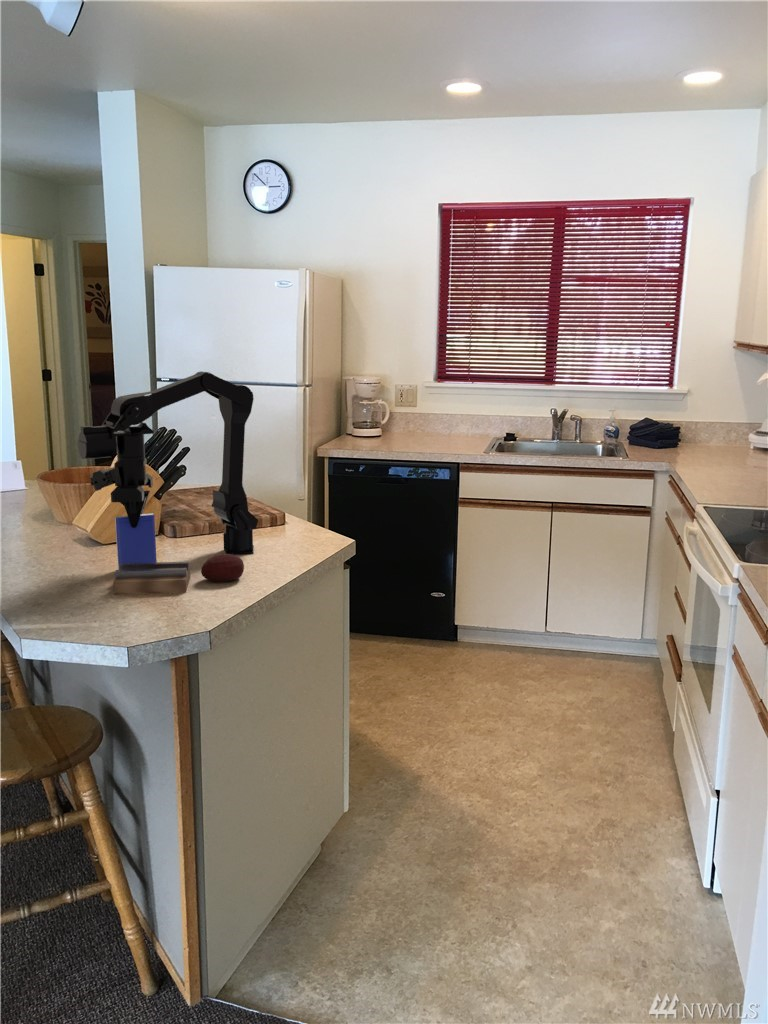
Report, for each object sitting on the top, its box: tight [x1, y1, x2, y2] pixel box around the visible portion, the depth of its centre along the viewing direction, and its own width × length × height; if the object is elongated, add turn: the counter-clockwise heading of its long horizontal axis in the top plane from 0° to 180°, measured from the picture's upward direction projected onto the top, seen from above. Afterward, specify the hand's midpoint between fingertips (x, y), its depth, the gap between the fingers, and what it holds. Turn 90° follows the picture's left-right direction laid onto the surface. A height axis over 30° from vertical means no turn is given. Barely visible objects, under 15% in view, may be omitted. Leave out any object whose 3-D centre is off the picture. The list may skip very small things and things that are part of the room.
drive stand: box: [113, 561, 191, 596], centre depth 164 cm, size 14×10×4 cm
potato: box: [200, 553, 245, 583], centre depth 169 cm, size 8×9×6 cm
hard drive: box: [114, 513, 158, 570], centre depth 175 cm, size 2×8×12 cm, turn 117°
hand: (135, 526), depth 174 cm, fingers closed
